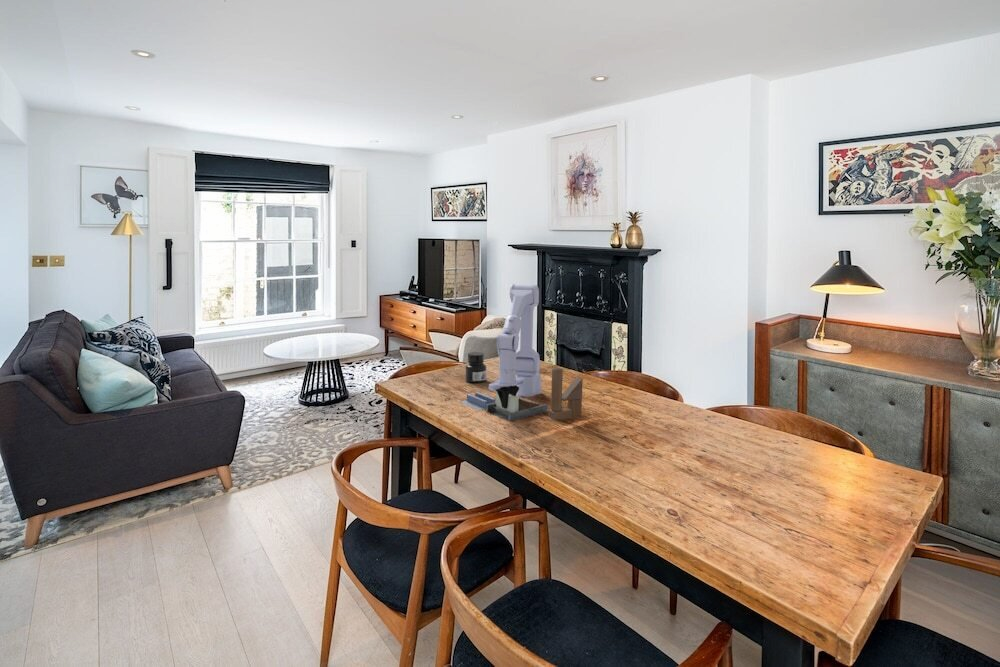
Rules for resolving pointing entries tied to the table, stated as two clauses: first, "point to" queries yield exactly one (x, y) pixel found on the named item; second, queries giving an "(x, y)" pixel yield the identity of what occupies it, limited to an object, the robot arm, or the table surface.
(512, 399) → the pale green slab
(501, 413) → the slotted rack
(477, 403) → the sheet stand
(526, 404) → the offcut stack
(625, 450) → the table surface
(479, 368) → the ink bottle
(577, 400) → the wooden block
